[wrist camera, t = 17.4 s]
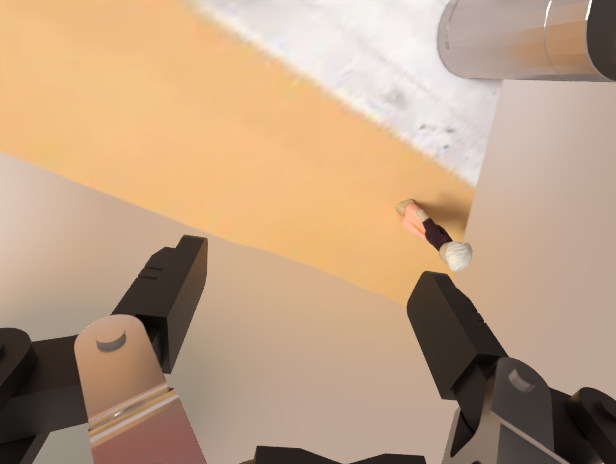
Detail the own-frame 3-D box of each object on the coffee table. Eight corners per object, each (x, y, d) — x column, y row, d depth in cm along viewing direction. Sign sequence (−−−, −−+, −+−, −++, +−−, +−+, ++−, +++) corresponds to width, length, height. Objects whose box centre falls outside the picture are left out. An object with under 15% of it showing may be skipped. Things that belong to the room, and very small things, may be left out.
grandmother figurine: (384, 210, 42) (428, 260, 31) (403, 189, 40) (457, 233, 29) (419, 237, 45) (471, 292, 34) (438, 218, 43) (498, 268, 32)
